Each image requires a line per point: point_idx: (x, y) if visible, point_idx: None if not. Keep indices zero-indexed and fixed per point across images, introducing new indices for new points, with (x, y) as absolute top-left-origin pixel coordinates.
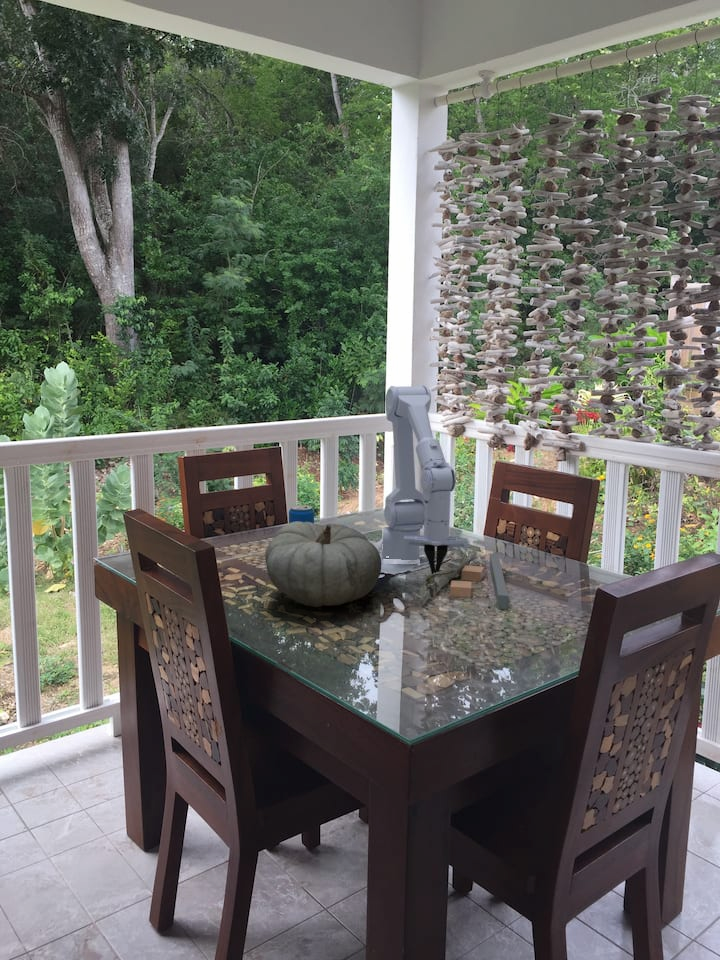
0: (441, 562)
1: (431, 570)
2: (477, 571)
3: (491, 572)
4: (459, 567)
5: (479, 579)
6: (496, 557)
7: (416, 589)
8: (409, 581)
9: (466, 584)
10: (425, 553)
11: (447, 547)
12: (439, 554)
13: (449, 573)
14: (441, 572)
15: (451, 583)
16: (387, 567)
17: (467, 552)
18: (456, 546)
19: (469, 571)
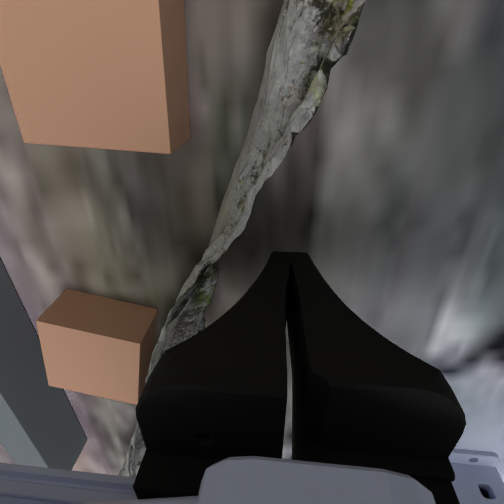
0: (237, 306)
1: (319, 273)
2: (57, 332)
3: (41, 370)
4: (150, 364)
5: (66, 296)
6: (22, 459)
7: (423, 120)
8: (431, 268)
9: (36, 55)
10: (436, 369)
11: (142, 465)
12: (248, 351)
13: (196, 282)
14: (242, 216)
15: (159, 67)
16: (487, 428)
17: None
18: (39, 480)
19: (99, 334)
